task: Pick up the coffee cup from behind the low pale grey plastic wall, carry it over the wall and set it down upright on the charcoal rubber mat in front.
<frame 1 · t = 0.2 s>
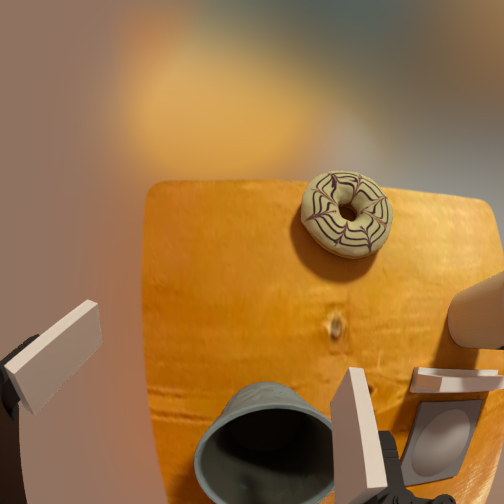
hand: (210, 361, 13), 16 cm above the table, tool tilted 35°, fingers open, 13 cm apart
coffee cup: (466, 318, 28), on the table
decorated donut: (342, 219, 32), on the table
resting mat: (440, 442, 23), on the table
grey cup: (264, 420, 25), on the table
low wall: (457, 380, 25), on the table
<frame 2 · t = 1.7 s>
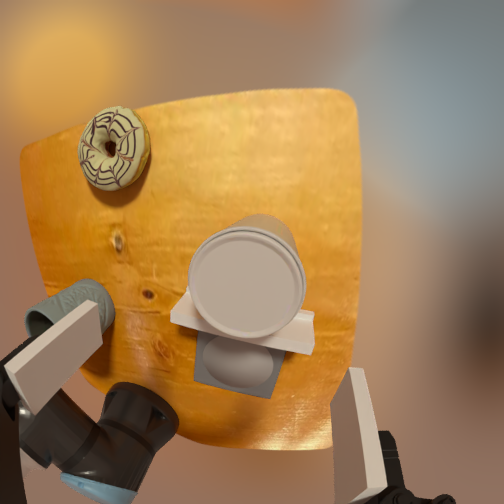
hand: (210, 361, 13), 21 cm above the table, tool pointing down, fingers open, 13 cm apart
coffee cup: (261, 246, 33), on the table
decorated donut: (121, 148, 32), on the table
resting mat: (238, 360, 38), on the table
grey cup: (95, 304, 39), on the table
low wall: (248, 308, 35), on the table
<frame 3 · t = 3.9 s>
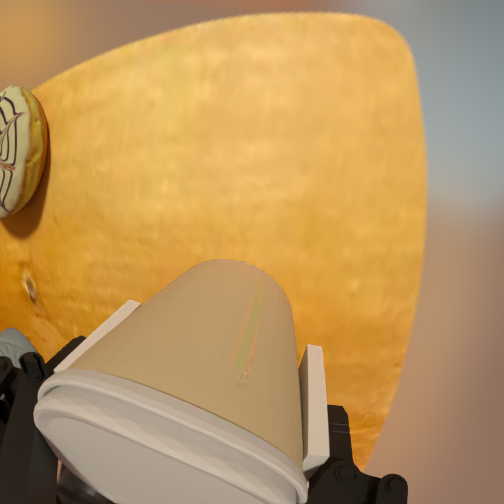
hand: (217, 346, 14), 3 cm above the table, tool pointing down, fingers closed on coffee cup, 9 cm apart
coffee cup: (229, 316, 17), on the table, touching gripper
decorated donut: (22, 149, 16), on the table
grey cup: (28, 358, 24), on the table
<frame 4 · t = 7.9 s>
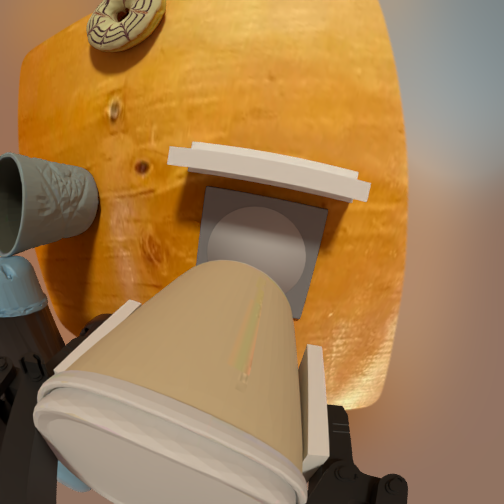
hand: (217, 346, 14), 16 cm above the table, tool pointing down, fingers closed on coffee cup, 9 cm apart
coffee cup: (229, 317, 17), point 13 cm above the table, touching gripper
decorated donut: (132, 21, 23), on the table
resting mat: (256, 254, 29), on the table
grey cup: (76, 203, 30), point 1 cm above the table, touching arm
low wall: (272, 168, 26), on the table
when the fingers open (5 cm above the table, at t = 10.2 s): coffee cup drops 1 cm, resting on resting mat.
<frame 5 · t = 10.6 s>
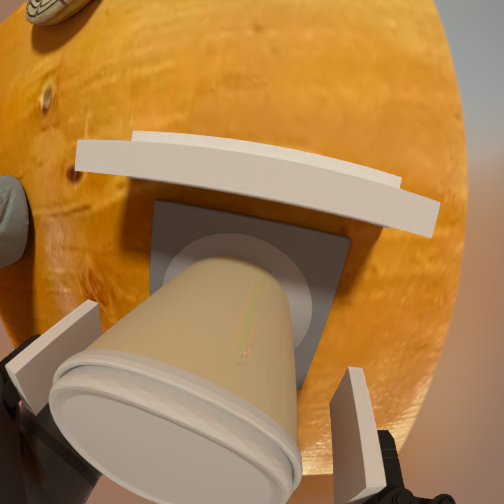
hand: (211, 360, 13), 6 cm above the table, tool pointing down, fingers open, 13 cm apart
coffee cup: (230, 309, 18), resting on resting mat
resting mat: (235, 304, 18), on the table
grey cup: (10, 222, 19), point 1 cm above the table, touching arm
low wall: (258, 170, 16), on the table
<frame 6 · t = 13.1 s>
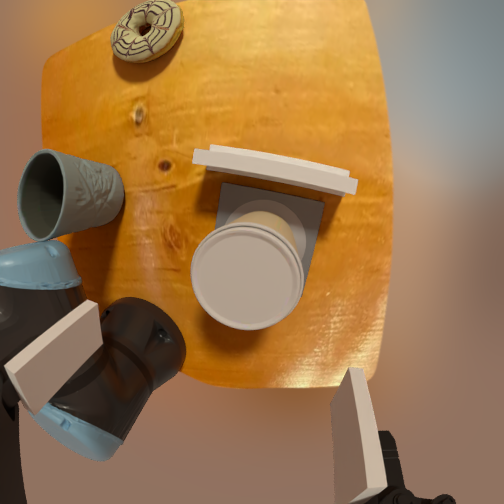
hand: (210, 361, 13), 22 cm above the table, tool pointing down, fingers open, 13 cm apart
coffee cup: (262, 242, 33), resting on resting mat
decorated donut: (153, 34, 28), on the table
resting mat: (264, 240, 34), on the table
grey cup: (101, 196, 35), point 1 cm above the table, touching arm
low wall: (277, 168, 31), on the table
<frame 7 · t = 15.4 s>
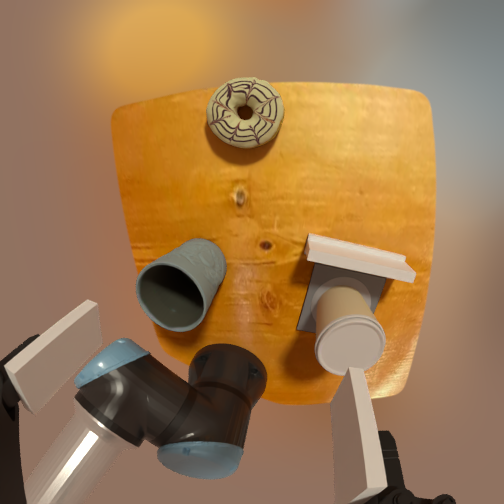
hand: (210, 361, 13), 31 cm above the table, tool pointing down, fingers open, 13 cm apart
coffee cup: (340, 305, 43), resting on resting mat
decorated donut: (247, 114, 38), on the table
resting mat: (340, 303, 44), on the table
grey cup: (202, 264, 45), on the table
low wall: (356, 253, 41), on the table
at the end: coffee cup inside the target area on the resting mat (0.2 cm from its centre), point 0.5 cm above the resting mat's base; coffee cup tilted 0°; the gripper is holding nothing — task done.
